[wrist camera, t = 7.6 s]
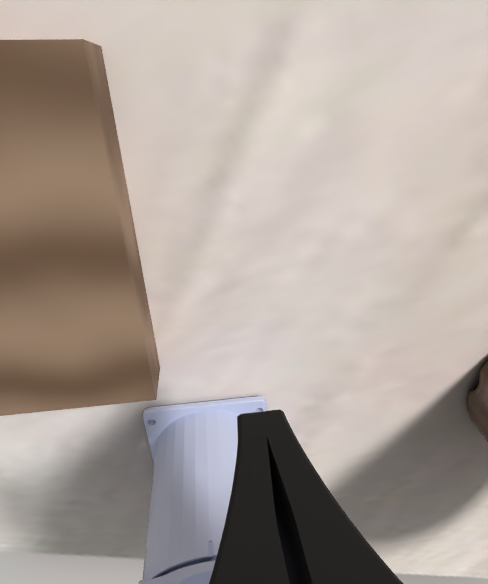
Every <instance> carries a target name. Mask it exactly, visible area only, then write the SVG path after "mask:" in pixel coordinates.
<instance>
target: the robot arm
mask: <svg viewBox="0 0 488 584" xmlns="http://www.w3.org/2000/svg"><path fill="white" fill-rule="evenodd" d="M258 408H260V409H258ZM143 420H144V424H145V428H146V433H147V437H148V441H149V445H150V449H151V454H152V458H153V462H154V475H153V484H152V494H151V504H150V513H149V523H148V533H147V542H146V552H145V562H144V572H143V580H141V581H140V582H139V584H403V583H402V582H401V581H400V580H399V579H398V578H397V576H396V575H395V574H394V573H393V572H392V571H391V570H390V568H389V567H388V566H387V565H386V564H385V563H384V561H383V560H382V559H381V558H380V557H379V555H378V554H377V553H376V552H375V551H374V549H373V548H372V547H371V546H370V545H369V543H368V542H367V541H366V540H365V538H364V537H363V536H362V535H361V533H360V532H359V531H358V530H357V528H356V527H355V526H354V524H353V523H352V522H351V520H350V519H349V518H348V516H347V515H346V514H345V512H344V511H343V510H342V508H341V507H340V505H339V504H338V503H337V501H336V500H335V498H334V497H333V496H332V494H331V493H330V491H329V490H328V488H327V487H326V485H325V484H324V482H323V481H322V479H321V478H320V476H319V475H318V473H317V472H316V470H315V468H314V467H313V465H312V464H311V462H310V461H309V459H308V457H307V456H306V454H305V452H304V451H303V449H302V447H301V445H300V444H299V442H298V440H297V438H296V436H295V435H294V433H293V431H292V429H291V427H290V425H289V423H288V421H287V419H286V417H285V414H284V412H283V411H281V410H272V411H267V403H266V399H265V398H264V397H262V396H255V397H245V398H236V399H226V400H216V401H207V402H197V403H188V404H178V405H168V406H159V407H150V408H147V409H145V410H144V412H143Z"/></svg>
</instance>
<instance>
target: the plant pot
mask: <svg viewBox="0 0 488 584" xmlns="http://www.w3.org/2000/svg"><path fill="white" fill-rule="evenodd" d="M468 411H469V414H470V417H471V419H472V421H473V422H474V424H475V425H476V426H477V428H478V429H479V431H480V432H481V433H482V435H483V436H484V437H485V439H486V440H487V441H488V361H487V362H486V364H485V365H484V366H483V367H482V369H481V370H480V375H479V385H478V387H477V388H476V390H475V391H471V392H470V393H469V395H468Z"/></svg>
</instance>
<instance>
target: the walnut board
mask: <svg viewBox="0 0 488 584" xmlns="http://www.w3.org/2000/svg"><path fill="white" fill-rule="evenodd" d="M159 372H160V366H159V360H158V355H157V349H156V344H155V338H154V333H153V327H152V322H151V316H150V311H149V305H148V300H147V295H146V289H145V284H144V278H143V273H142V267H141V262H140V256H139V251H138V245H137V240H136V234H135V229H134V223H133V218H132V213H131V207H130V202H129V196H128V191H127V185H126V180H125V174H124V169H123V163H122V158H121V152H120V147H119V141H118V136H117V131H116V125H115V120H114V114H113V109H112V103H111V98H110V92H109V87H108V81H107V76H106V70H105V65H104V60H103V54H102V49H101V46H99V45H96V44H94V43H91V42H88V41H86V40H83V39H79V40H0V416H2V415H12V414H22V413H32V412H42V411H51V410H61V409H71V408H81V407H90V406H100V405H110V404H120V403H129V402H139V401H149V400H156V397H157V389H158V380H159Z"/></svg>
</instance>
